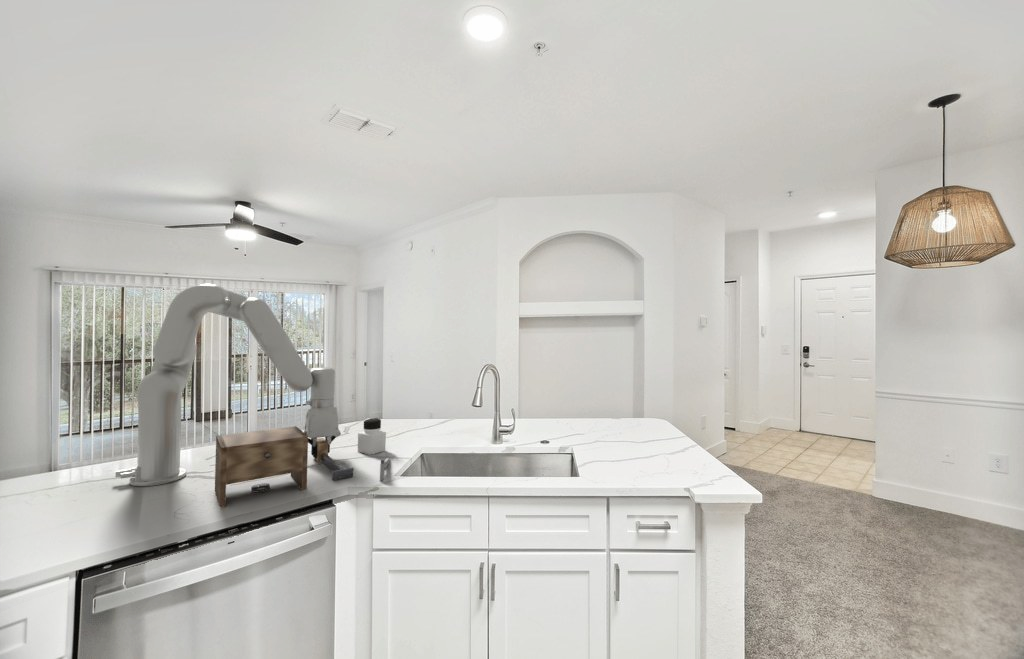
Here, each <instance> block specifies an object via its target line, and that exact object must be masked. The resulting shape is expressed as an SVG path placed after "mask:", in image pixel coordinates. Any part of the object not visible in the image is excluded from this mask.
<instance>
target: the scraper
mask: <svg viewBox="0 0 1024 659" xmlns="http://www.w3.org/2000/svg"><path fill="white" fill-rule="evenodd" d="M316 444H317V458H314V459H315V460H316V459H317V460H316V461H318V462H321V463H323V464H324V465H326V466H327V467H328V468H329V469H330V470H332V471H331V480H332V481H337V480H342V479H347V478H353V477H354V469H355V468H354V467H348V468H344V467H342V466H341V465H340V464H339V463H338V462H336V461H335V460H334V459H333V458H332V457H330V456H329V453H328V442H327V441H326V440H325V438H324V437H320V438H317V442H316Z"/></svg>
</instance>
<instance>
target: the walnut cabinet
mask: <svg viewBox="0 0 1024 659" xmlns="http://www.w3.org/2000/svg"><path fill="white" fill-rule="evenodd" d="M308 438H309V437H308V436H307V435H306V434H305V433H304V431H303V430H301V429H300V427H298V426H289V427H278V428H271V429H269V428H268V429H262V430H254V431H253V430H252V431H244V432H236V433H235V432H234V433H228V434H221V435H220V434H219V435H215V462H214V463H215V467H214V468H215V469H214V470H215V472H214V473H215V474H214V493H215V492H216V493H215V496H217V497H216V500H217V502H218V503H219V504H218V507H221V508H225V507H226V501H227V499H226V498H227V497H226V496H227V494H226V493H227V491H226V489H227V485H233V484H237V483H244V482H249V481H250V482H251V481H255V480H260V479H265V478H271V477H277V476H282V475H283V476H284V475H286V474H290V477H291V479H292V480H293V481H294V483H295V484H296V485H297V486H298V487H299V489H300V490H301V491H306V490H307V488H308V455H309V454H308V453H309V452H308V451H309V443H308Z"/></svg>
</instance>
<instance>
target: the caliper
mask: <svg viewBox="0 0 1024 659" xmlns="http://www.w3.org/2000/svg"><path fill="white" fill-rule="evenodd" d="M390 460H391V459H390V457H386V458H385V459H384V458H383V459H381V460H380V466H379V467H380V468H379V481H380V482H383V481H384V480H385V471H386V469H387V466H388V465H389V463H390Z"/></svg>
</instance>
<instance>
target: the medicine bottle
mask: <svg viewBox="0 0 1024 659" xmlns="http://www.w3.org/2000/svg"><path fill="white" fill-rule="evenodd" d="M381 426H382V421H381V419H380V418H378V417H369V418H366V419H364V420H363V430H362V431H360V432H358V433H357V452H358V453H360V454H364V455H369V456H371V455H375V453H376V454H377V453H378V454H379V453H383V452H385V451H386V446H387V445H386V442H387V441H386V438H387V432H386V431H384V430H382V428H381Z"/></svg>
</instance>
